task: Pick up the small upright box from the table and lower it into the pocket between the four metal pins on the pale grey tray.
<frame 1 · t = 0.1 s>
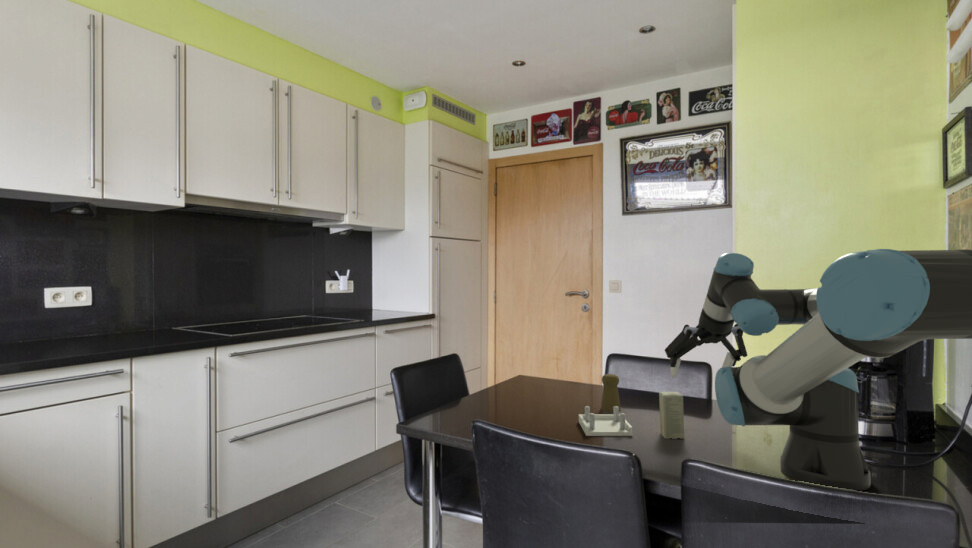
hand: (698, 373, 128), 15 cm above the table, tool tilted 35°, fingers open, 13 cm apart
tray: (604, 428, 130), on the table
box: (671, 436, 124), on the table
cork: (610, 410, 149), on the table
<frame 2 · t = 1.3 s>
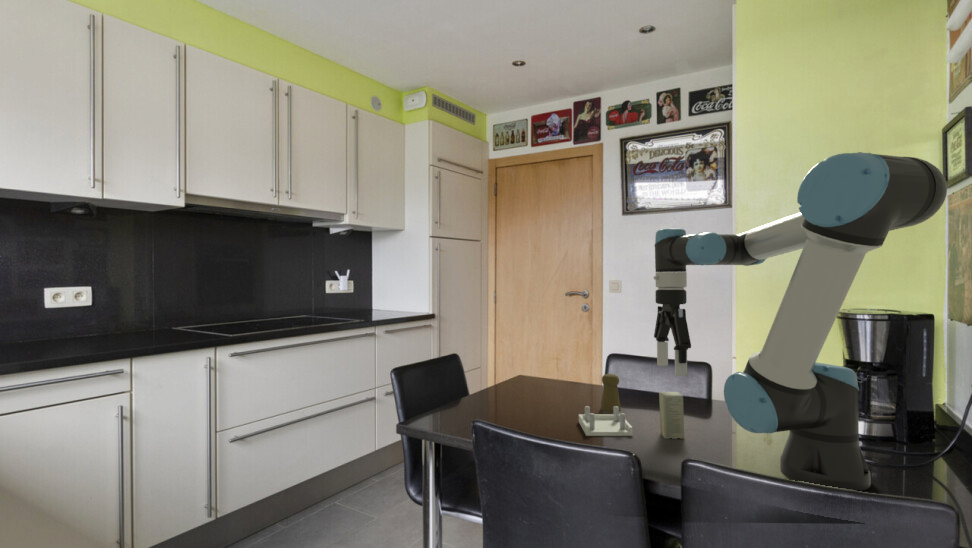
hand: (671, 370, 124), 17 cm above the table, tool pointing down, fingers open, 13 cm apart
nothing on the table moved.
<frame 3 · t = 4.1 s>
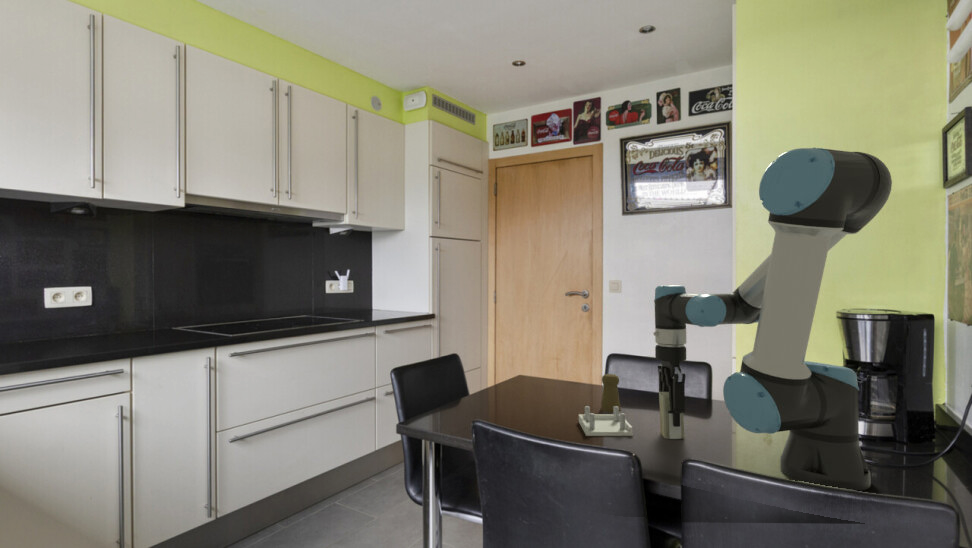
hand: (671, 434, 124), 0 cm above the table, tool pointing down, fingers closed on box, 4 cm apart
box: (671, 436, 124), on the table, touching gripper
everything else where it was.
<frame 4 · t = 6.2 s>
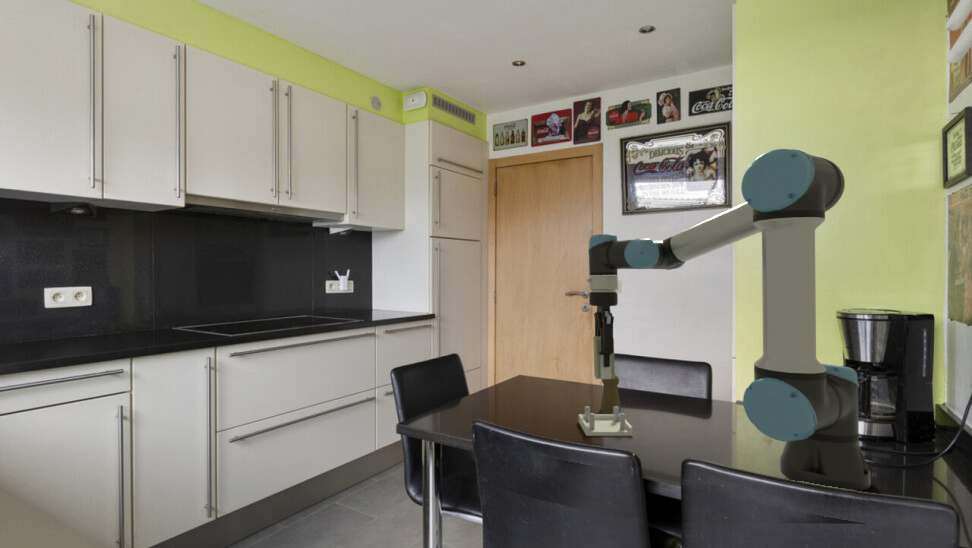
hand: (603, 376, 131), 14 cm above the table, tool pointing down, fingers closed on box, 4 cm apart
box: (604, 378, 131), point 14 cm above the table, touching gripper
everything else where it was.
when the fingers open (2 cm above the table, at t = 8.4 s): box drops 1 cm, resting on tray.
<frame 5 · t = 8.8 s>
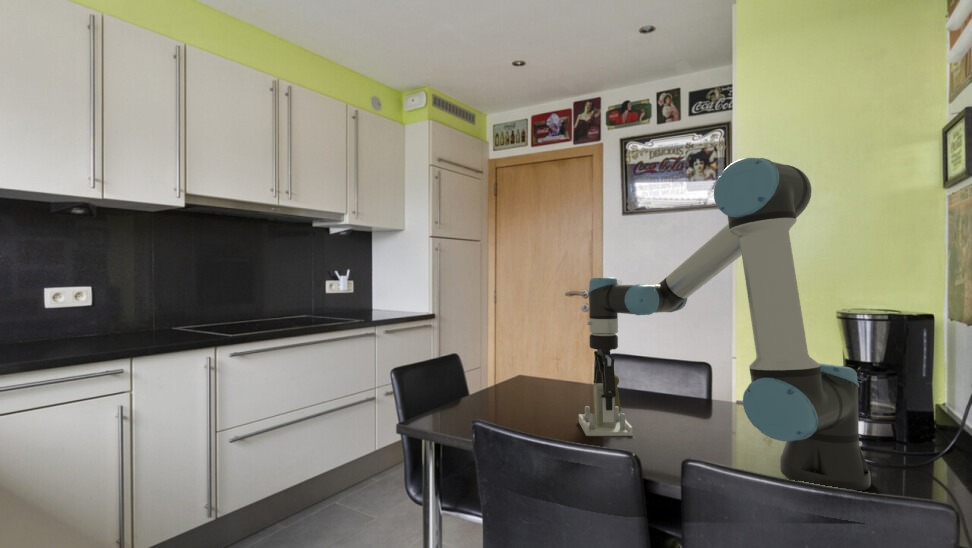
hand: (604, 416, 130), 3 cm above the table, tool pointing down, fingers open, 9 cm apart
box: (604, 425, 130), point 1 cm above the table, touching tray
everything else where it was.
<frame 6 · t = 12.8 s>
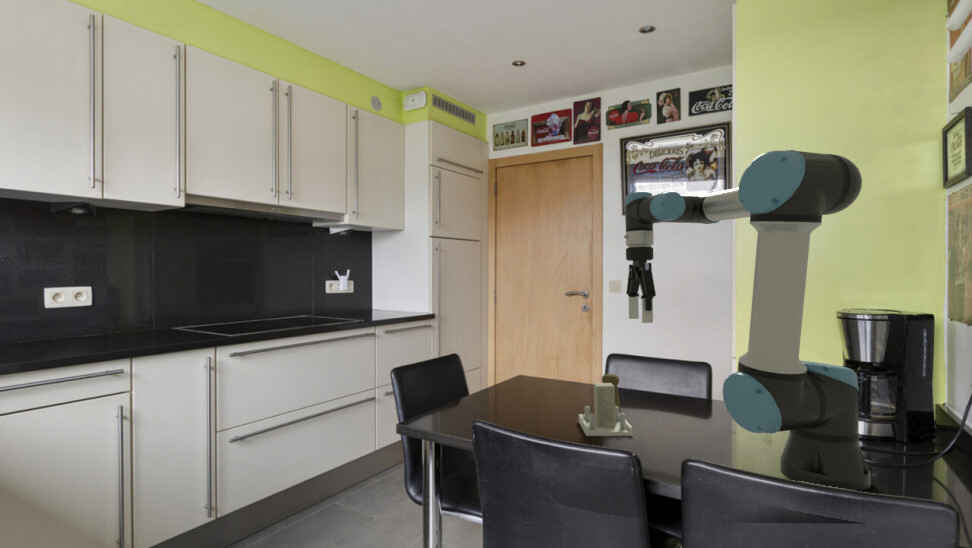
hand: (640, 320, 137), 29 cm above the table, tool pointing down, fingers open, 13 cm apart
nothing on the table moved.
at the end: box 0.1 cm off-centre on the tray, point 0.8 cm above the tray's base; box tilted 0°; the gripper is holding nothing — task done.
